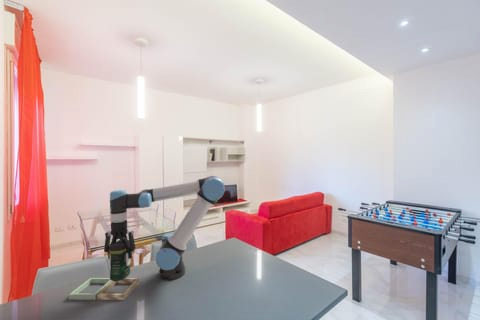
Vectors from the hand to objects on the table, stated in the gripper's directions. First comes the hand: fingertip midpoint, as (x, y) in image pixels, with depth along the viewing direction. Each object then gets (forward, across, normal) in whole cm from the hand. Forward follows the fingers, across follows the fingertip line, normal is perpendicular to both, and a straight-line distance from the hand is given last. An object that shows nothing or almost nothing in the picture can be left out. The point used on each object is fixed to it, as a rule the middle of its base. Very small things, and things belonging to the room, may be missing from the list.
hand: (120, 264), depth 115 cm
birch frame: (+13, +1, 0) cm, 13 cm away
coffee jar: (+7, 0, 0) cm, 7 cm away
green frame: (+13, +15, 0) cm, 20 cm away
